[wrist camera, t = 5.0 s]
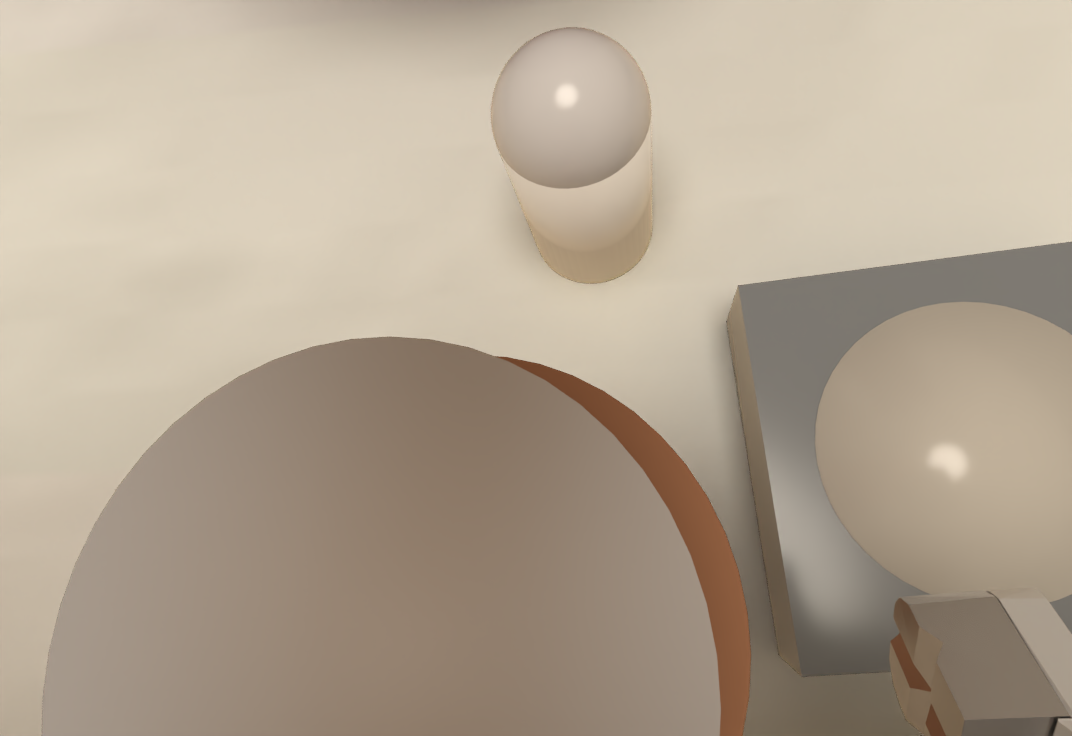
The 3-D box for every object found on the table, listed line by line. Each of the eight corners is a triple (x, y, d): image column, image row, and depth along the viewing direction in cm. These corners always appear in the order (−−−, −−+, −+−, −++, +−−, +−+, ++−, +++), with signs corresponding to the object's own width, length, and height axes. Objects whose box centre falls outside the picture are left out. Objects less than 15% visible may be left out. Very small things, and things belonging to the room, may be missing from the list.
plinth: (778, 655, 18) (802, 677, 15) (726, 321, 20) (738, 284, 17) (1167, 631, 17) (1274, 650, 14) (1066, 279, 19) (1140, 232, 16)
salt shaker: (540, 291, 21) (478, 157, 14) (530, 184, 22) (468, 6, 15) (659, 274, 21) (661, 128, 14) (644, 166, 22) (639, -28, 14)
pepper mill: (514, 666, 19) (-64, 1191, 4) (502, 487, 20) (23, 327, 5) (694, 655, 18) (890, 1236, 3) (671, 471, 20) (726, 226, 4)
